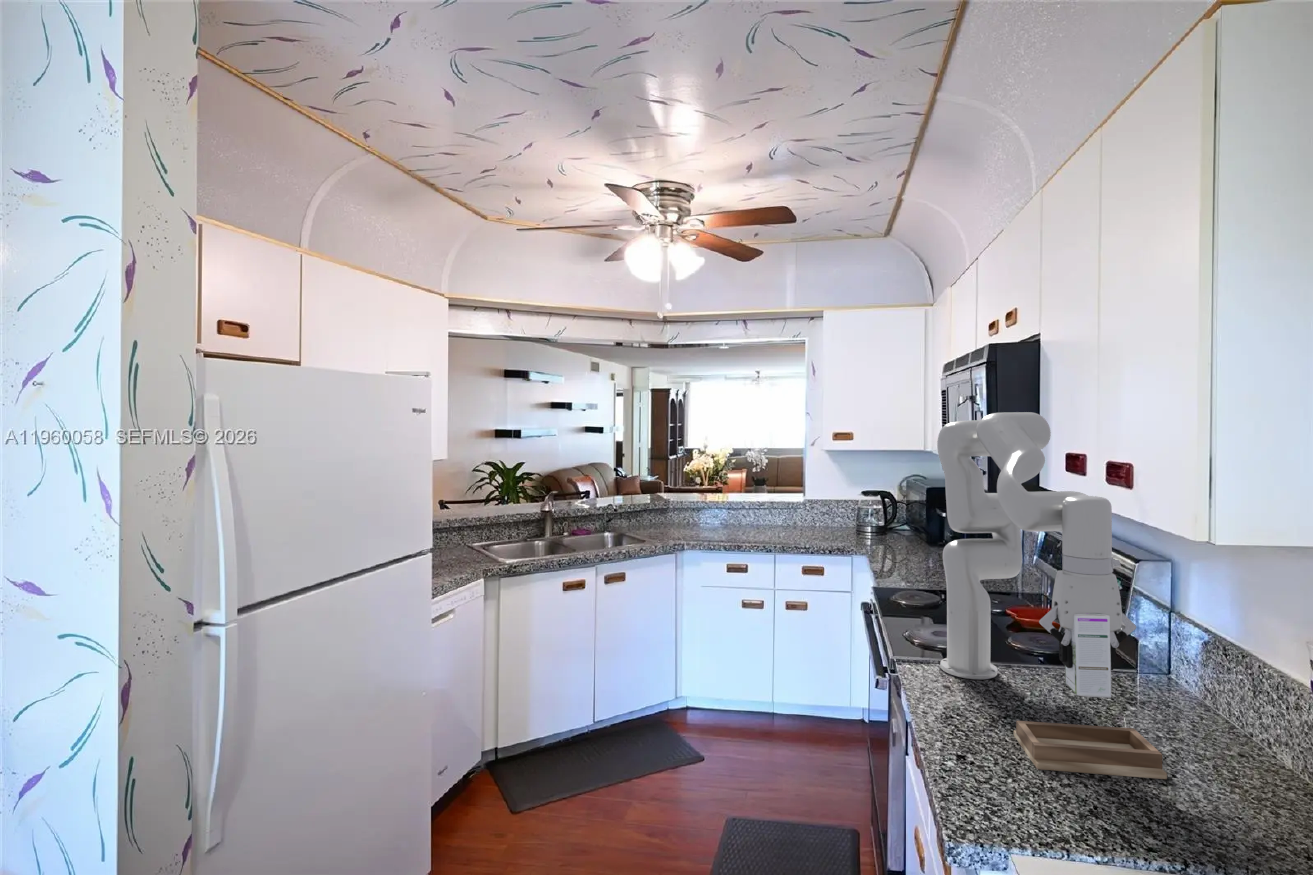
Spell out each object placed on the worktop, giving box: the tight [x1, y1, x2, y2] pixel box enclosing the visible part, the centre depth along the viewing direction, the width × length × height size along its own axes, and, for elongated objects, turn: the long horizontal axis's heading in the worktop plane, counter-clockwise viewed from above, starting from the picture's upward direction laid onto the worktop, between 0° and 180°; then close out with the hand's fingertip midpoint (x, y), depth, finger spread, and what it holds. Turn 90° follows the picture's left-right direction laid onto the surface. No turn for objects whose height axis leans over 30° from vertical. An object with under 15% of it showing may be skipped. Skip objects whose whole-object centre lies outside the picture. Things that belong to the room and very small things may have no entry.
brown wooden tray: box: [1013, 720, 1168, 780], centre depth 125 cm, size 13×20×4 cm, turn 79°
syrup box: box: [1064, 613, 1112, 699], centre depth 124 cm, size 6×6×14 cm
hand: (1087, 665), depth 124 cm, fingers closed on syrup box, 5 cm apart
